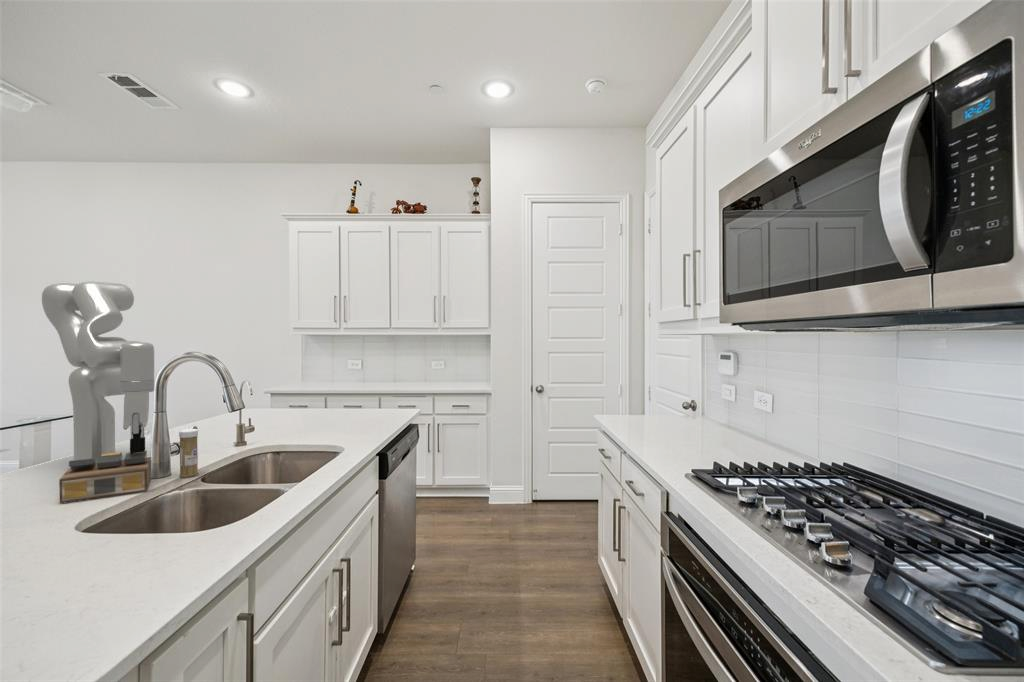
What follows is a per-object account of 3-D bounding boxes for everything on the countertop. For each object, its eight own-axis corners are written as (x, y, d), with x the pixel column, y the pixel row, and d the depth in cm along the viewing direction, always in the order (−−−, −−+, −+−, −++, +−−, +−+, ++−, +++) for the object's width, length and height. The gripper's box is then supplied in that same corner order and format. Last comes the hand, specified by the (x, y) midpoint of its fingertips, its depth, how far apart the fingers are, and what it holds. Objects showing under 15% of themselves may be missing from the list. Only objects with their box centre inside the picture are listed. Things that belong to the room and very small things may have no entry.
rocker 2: (101, 461, 130) (101, 454, 129) (122, 459, 132) (121, 451, 132) (97, 470, 125) (97, 462, 124) (119, 468, 127) (118, 460, 127)
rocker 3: (127, 460, 133) (127, 452, 132) (147, 457, 135) (146, 450, 135) (124, 466, 128) (124, 458, 127) (145, 464, 130) (144, 456, 130)
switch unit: (72, 488, 128) (72, 465, 128) (151, 477, 138) (151, 457, 138) (59, 504, 116) (58, 479, 116) (146, 491, 126) (146, 469, 125)
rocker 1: (73, 469, 126) (74, 461, 127) (95, 467, 129) (96, 458, 129) (68, 469, 121) (69, 460, 122) (91, 466, 124) (91, 458, 124)
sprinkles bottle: (193, 477, 138) (192, 431, 138) (176, 478, 138) (175, 431, 137) (201, 472, 143) (201, 428, 142) (184, 473, 142) (184, 428, 142)
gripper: (123, 384, 137) (123, 448, 138) (116, 390, 125) (116, 460, 125) (156, 383, 142) (156, 445, 142) (152, 389, 129) (152, 456, 129)
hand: (137, 452), depth 133 cm, fingers closed
